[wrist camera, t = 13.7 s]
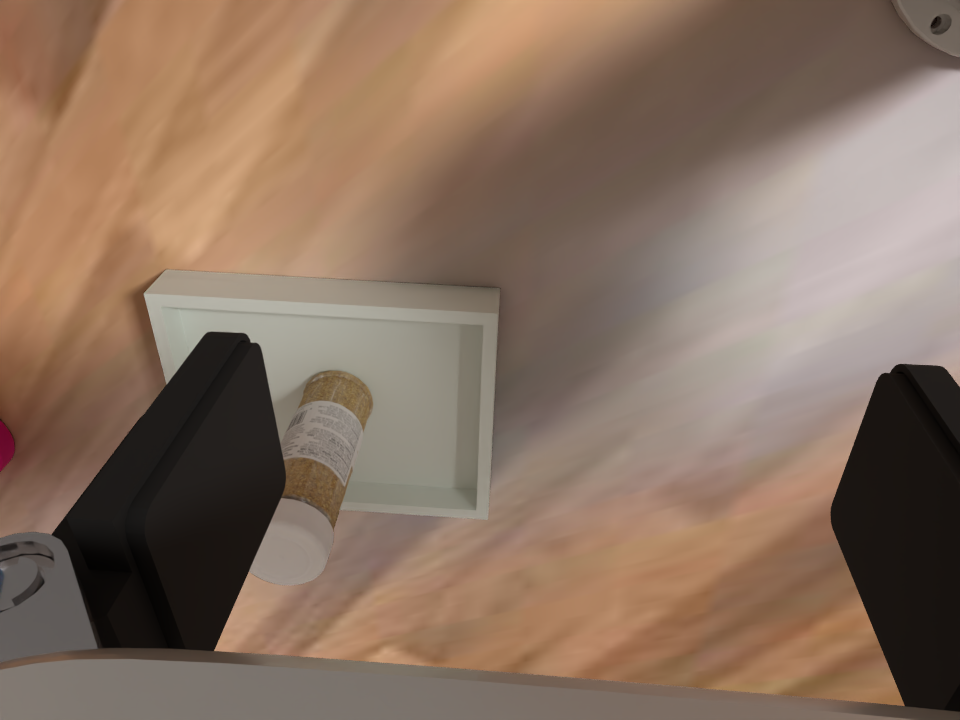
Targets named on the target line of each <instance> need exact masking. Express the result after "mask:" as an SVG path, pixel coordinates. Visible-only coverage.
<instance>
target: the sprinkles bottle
mask: <svg viewBox="0 0 960 720" xmlns="http://www.w3.org/2000/svg"><path fill="white" fill-rule="evenodd" d="M372 409H373V399H372V395H371V392H370V390H369V388H368V387H367V386H366V384H364V383H363V382H362V381H361V380H360V379H359V378H357V377H356V376H354V375H352V374H349V373H347V372H343V371H326V372H321V373H319V374H317V375H315V376H314V377H313V378H312V379H311V380H310V381H308V383H307V384H306V387H305V389H304V391H303V397H302V400H301V402H300V404H299V407H298V409H297V411H296V412H295V413H294V415H293V417H292V419H291V422H290V424H289V426H288V428H287V430H286V433H285V435H284V437H283V439H282V441H281V449H282V454H283V459H284V464H285V470H286V483H285V489H284V492H283V495H282V497H281V499H280V502H279V504H278V506H277V508H276V511H275V513H274V515H273V518H272V520H271V522H270V524H269V527H268V529H267V531H266V533H265V536H264V538H263V540H262V543H261V545H260V547H259V549H258V552H257V554H256V556H255V558H254V561H253V563H252V565H251V568H250V570H249V572H251V573H252V574H253V575H255V576H256V577H258V578H260V579H262V580H265V581H267V582H271V583H274V584H279V585H300V584H304V583H307V582H309V581H312V580H313V579H315V578H317V577H318V576H319V575H320V574H321V573H322V572H323V570H324V569H325V566H326V564H327V561H328V558H329V555H330V552H331V548H332V545H333V541H334V526H335V523H336V520H337V517H338V514H339V510H340V507H341V504H342V502H343V499H344V496H345V493H346V489H347V486H348V483H349V479H350V477H351V475H352V473H353V470H354V466H355V463H356V459H357V456H358V453H359V450H360V447H361V443H362V440H363V432H364V429H365V426H366V423H367V419H368V418H369V417H370V415H371V413H372Z"/></svg>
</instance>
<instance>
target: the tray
mask: <svg viewBox="0 0 960 720" xmlns="http://www.w3.org/2000/svg"><path fill="white" fill-rule="evenodd" d="M144 297H145V301H146V305H147V309H148V313H149V317H150V321H151V325H152V329H153V333H154V337H155V341H156V345H157V349H158V353H159V357H160V361H161V365H162V369H163V373H164V377H165V381H166V385H167V383H168V382H169V381H170V379H171V378H172V377H173V375H174V374H175V373H176V372H177V370H178V369H179V368H180V366H181V365H182V364H183V362H184V361H185V360H186V358H187V357H188V356H189V354H190V353H191V352H192V350H193V349H194V348H195V346H196V345H197V344H198V342H199V341H200V340H201V338H202V337H203V336H204V335H205V334H206V333H207V332H211V331H213V332H234V333H245V334H247V335H248V337H249V339H250V341H251V342H252V343H258V344H259V345H260V347H261V350H262V354H263V359H264V364H265V369H266V374H267V379H268V384H269V389H270V394H271V399H272V404H273V409H274V414H275V419H276V424H277V429H278V434H279V439H280V444H281V441H282V439H283V437H284V435H285V433H286V430H287V428H288V426H289V424H290V422H291V419H292V417H293V415H294V413H295V412H296V411H297V409H298V407H299V404H300V402H301V400H302V397H303V391H304V389H305V387H306V384H307V383H308V381H310V380H311V379H312V378H313V377H314V376H315V375H317V374H319V373H321V372H326V371H343V372H347V373H349V374H352V375H354V376H356V377H357V378H359V379H360V380H361V381H362V382H363V383H364V384H366V386H367V387H368V388H369V390H370V392H371V395H372V399H373V409H372V413H371V415H370V417H369V418H368V419H367V423H366V426H365V429H364V432H363V440H362V443H361V447H360V450H359V453H358V456H357V459H356V463H355V466H354V470H353V473H352V475H351V477H350V479H349V483H348V486H347V489H346V493H345V496H344V499H343V502H342V504H341V507H340V510H348V511H363V512H378V513H393V514H408V515H423V516H438V517H452V518H467V519H482V520H488V512H489V499H490V483H491V463H492V443H493V423H494V403H495V383H496V363H497V344H498V324H499V304H500V288H489V287H471V286H453V285H435V284H417V283H399V282H381V281H363V280H345V279H327V278H309V277H291V276H273V275H255V274H237V273H219V272H201V271H183V270H165V271H164V272H163V273H162V274H161V275H160V276H159V277H158V278H157V280H156V281H155V282H154V283H153V284H152V285H151V286H150V287H149V288H148V289H147V290H146V291H145V292H144Z"/></svg>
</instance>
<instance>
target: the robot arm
mask: <svg viewBox="0 0 960 720" xmlns="http://www.w3.org/2000/svg"><path fill="white" fill-rule="evenodd" d="M891 1H892V3H893V5H894V7H895V9H896V12H897V14H898V15H899V17H900V18H901V19H902V20H903V21H904V23H905V24H906V25H907V26H908V27H909V29H910V30H911V31H912V32H913V33H914V34H915V35H917V36H918V37H919V38H921V39H922V40H924V41H925V42H926V43H928V44H929V45H931V46H932V47H934V48H937V49H939V50H941V51H943V52H945V53H947V54H950V55H952V56H956V57H960V0H891ZM935 17H937V22H936V24H935V25H933V26H932V27H930V26H931V23H932V21H933V19H934V18H935ZM285 483H286V470H285V464H284V459H283V454H282V449H281V444H280V439H279V434H278V429H277V424H276V419H275V414H274V409H273V404H272V399H271V394H270V389H269V384H268V379H267V374H266V369H265V364H264V359H263V354H262V350H261V347H260V345H259V344H258V343H252V342H251V341H250V339H249V337H248V335H247V334H245V333H234V332H213V331H211V332H207V333H206V334H205V335H204V336H203V337H202V338H201V340H200V341H199V342H198V344H197V345H196V346H195V348H194V349H193V350H192V352H191V353H190V354H189V356H188V357H187V358H186V360H185V361H184V362H183V364H182V365H181V366H180V368H179V369H178V370H177V372H176V373H175V374H174V375H173V377H172V378H171V379H170V381H169V382H168V383H167V385H166V386H165V387H164V389H163V390H162V391H161V393H160V394H159V395H158V397H157V398H156V399H155V401H154V402H153V403H152V405H151V406H150V407H149V409H148V410H147V411H146V413H145V414H144V415H143V416H142V417H141V418H140V419H139V420H138V421H137V423H136V424H135V425H134V426H133V428H132V429H131V430H130V432H129V433H128V434H127V436H126V437H125V438H124V440H123V441H122V442H121V444H120V445H119V446H118V448H117V449H116V450H115V452H114V453H113V454H112V456H111V457H110V458H109V459H108V461H107V462H106V463H105V465H104V466H103V467H102V469H101V470H100V471H99V473H98V474H97V475H96V477H95V478H94V479H93V481H92V482H91V483H90V485H89V486H88V487H87V488H86V490H85V491H84V492H83V494H82V495H81V496H80V498H79V499H78V500H77V502H76V503H75V504H74V506H73V507H72V508H71V510H70V511H69V512H68V514H67V515H66V516H65V518H64V519H63V520H62V521H61V523H60V524H59V525H58V527H57V528H56V529H55V531H54V532H53V533H52V535H50V534H45V533H38V532H27V533H17V534H12V535H9V536H5V537H2V538H0V720H960V387H959V386H958V384H957V383H956V382H955V380H954V379H953V378H952V376H951V375H950V374H949V373H948V371H947V370H946V369H945V368H943V367H941V366H933V365H912V364H899V365H896V366H895V367H894V368H893V369H892V370H891V372H890V373H884V374H881V375H880V377H879V378H878V380H877V382H876V385H875V387H874V390H873V393H872V396H871V398H870V401H869V404H868V407H867V409H866V412H865V415H864V418H863V420H862V423H861V426H860V429H859V431H858V434H857V437H856V439H855V442H854V445H853V448H852V450H851V453H850V456H849V459H848V461H847V464H846V467H845V470H844V472H843V475H842V478H841V481H840V483H839V486H838V489H837V492H836V494H835V497H834V500H833V503H832V506H831V524H832V528H833V531H834V533H835V536H836V538H837V540H838V543H839V545H840V548H841V550H842V553H843V555H844V558H845V560H846V563H847V565H848V567H849V570H850V572H851V575H852V577H853V580H854V582H855V585H856V587H857V589H858V592H859V594H860V597H861V599H862V602H863V604H864V607H865V609H866V612H867V614H868V616H869V619H870V621H871V624H872V626H873V629H874V631H875V634H876V636H877V638H878V641H879V643H880V646H881V648H882V651H883V653H884V656H885V658H886V660H887V663H888V665H889V668H890V670H891V673H892V675H893V678H894V680H895V683H896V685H897V687H898V690H899V692H900V695H901V697H902V700H903V702H904V705H905V706H897V705H887V704H877V703H866V702H854V701H843V700H831V699H820V698H808V697H796V696H785V695H773V694H762V693H750V692H738V691H727V690H715V689H704V688H692V687H680V686H668V685H656V684H644V683H631V682H619V681H607V680H595V679H582V678H570V677H558V676H545V675H533V674H520V673H508V672H495V671H483V670H470V669H458V668H444V667H431V666H418V665H405V664H391V663H378V662H365V661H352V660H338V659H325V658H312V657H299V656H285V655H269V654H252V653H235V652H218V651H214V649H215V647H216V645H217V643H218V640H219V638H220V636H221V633H222V631H223V629H224V627H225V624H226V622H227V620H228V618H229V615H230V613H231V611H232V608H233V606H234V604H235V602H236V599H237V597H238V595H239V593H240V590H241V588H242V586H243V583H244V581H245V579H246V577H247V574H248V572H249V570H250V568H251V565H252V563H253V561H254V558H255V556H256V554H257V552H258V549H259V547H260V545H261V543H262V540H263V538H264V536H265V533H266V531H267V529H268V527H269V524H270V522H271V520H272V518H273V515H274V513H275V511H276V508H277V506H278V504H279V502H280V499H281V497H282V495H283V492H284V489H285Z"/></svg>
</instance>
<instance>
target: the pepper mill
mask: <svg viewBox="0 0 960 720" xmlns="http://www.w3.org/2000/svg"><path fill="white" fill-rule="evenodd" d="M14 452H15V447H14V440H13V438H12V435H11V433H10V431H9V430H8V429H7V427H6V426H5V425H4V423H3V422H1V421H0V472H1V470H2V469H3V468H4V467H5V466H6V465H7V464H8V463H9V462H10V460H11V459H12V458H13V455H14Z"/></svg>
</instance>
